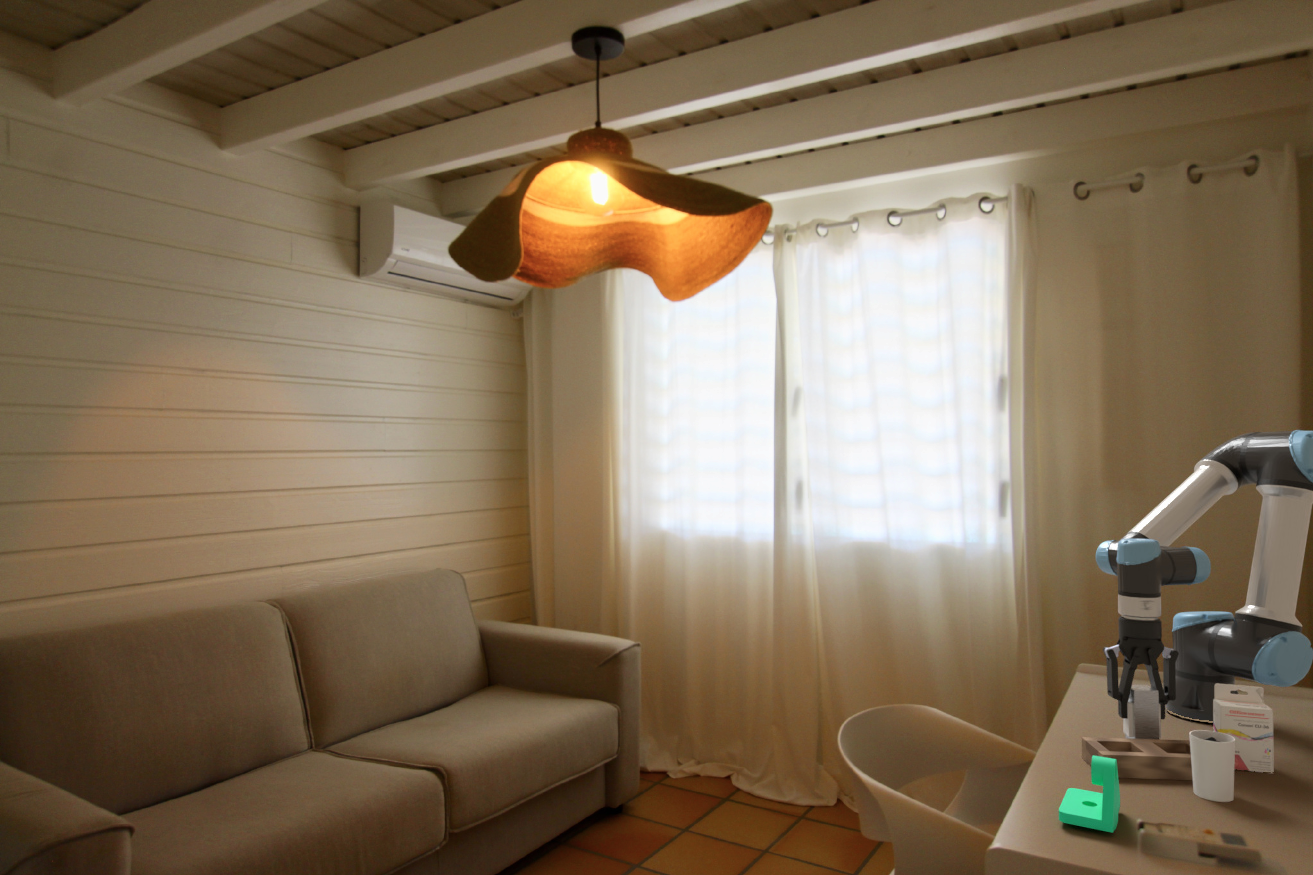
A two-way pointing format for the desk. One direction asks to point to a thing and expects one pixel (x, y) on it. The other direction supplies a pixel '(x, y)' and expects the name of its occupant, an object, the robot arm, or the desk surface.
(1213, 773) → the white cup
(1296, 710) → the desk surface
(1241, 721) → the ink cartridge box
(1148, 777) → the brown holed block
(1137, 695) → the steel peg
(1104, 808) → the camera mount
